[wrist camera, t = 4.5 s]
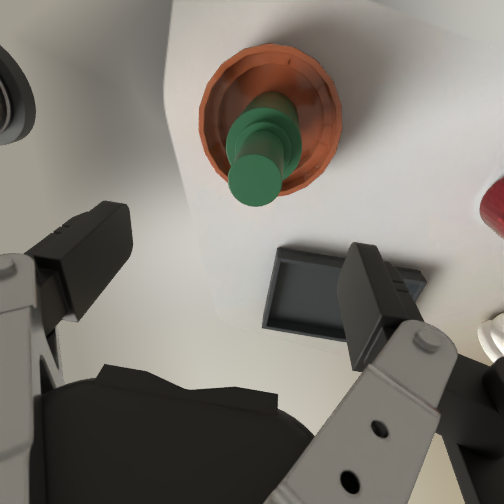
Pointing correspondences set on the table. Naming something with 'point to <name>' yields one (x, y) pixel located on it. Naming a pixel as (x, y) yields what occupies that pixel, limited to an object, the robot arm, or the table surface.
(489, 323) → the cat figurine
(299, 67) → the bowl
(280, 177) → the bottle
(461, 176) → the table surface
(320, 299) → the tray
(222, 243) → the table surface
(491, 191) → the soda can
